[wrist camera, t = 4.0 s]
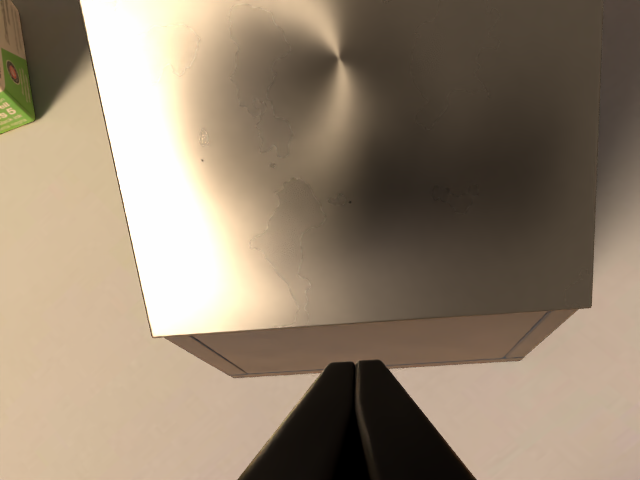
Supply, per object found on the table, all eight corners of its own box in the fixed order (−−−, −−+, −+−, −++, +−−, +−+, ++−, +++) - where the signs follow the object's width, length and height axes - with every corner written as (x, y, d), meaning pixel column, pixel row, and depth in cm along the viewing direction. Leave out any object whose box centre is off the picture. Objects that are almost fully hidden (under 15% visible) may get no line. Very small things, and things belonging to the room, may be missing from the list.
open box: (237, 122, 28) (184, 2, 21) (474, 97, 27) (503, -39, 20) (232, 378, 23) (160, 336, 16) (521, 361, 22) (582, 307, 15)
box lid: (39, -238, 12) (20, -256, 11) (603, -336, 11) (619, -362, 10) (159, 327, 16) (150, 339, 15) (582, 298, 15) (592, 309, 14)
